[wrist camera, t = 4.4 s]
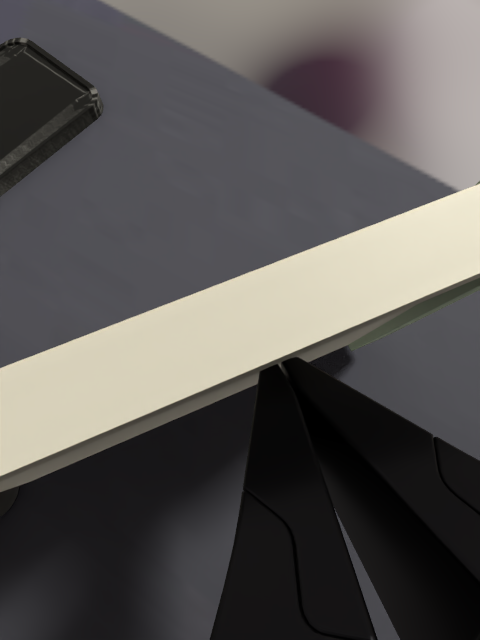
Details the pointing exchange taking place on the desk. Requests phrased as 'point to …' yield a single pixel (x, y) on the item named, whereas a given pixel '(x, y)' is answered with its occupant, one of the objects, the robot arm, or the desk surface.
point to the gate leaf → (234, 336)
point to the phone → (38, 108)
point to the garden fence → (7, 499)
